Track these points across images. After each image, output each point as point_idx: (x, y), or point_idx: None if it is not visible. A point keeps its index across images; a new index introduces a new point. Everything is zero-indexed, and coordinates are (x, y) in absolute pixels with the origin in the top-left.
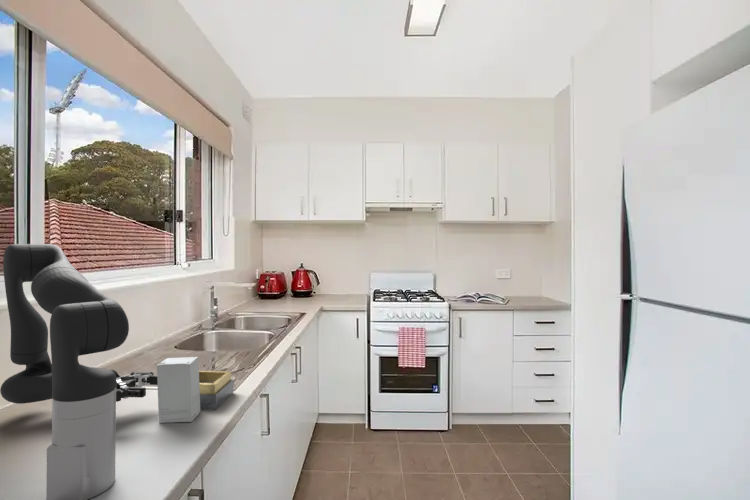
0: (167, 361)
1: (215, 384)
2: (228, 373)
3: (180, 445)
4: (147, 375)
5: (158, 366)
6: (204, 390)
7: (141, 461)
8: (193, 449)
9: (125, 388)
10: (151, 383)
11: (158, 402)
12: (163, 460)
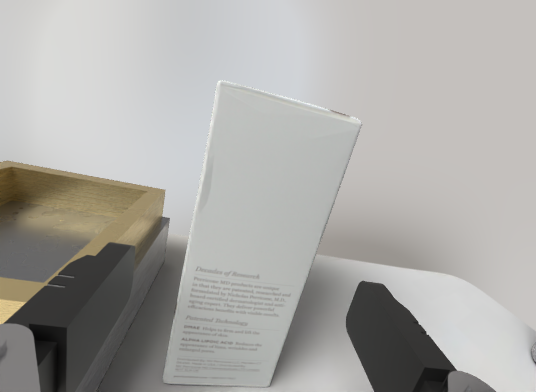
0: (301, 101)
1: (161, 189)
2: (32, 166)
3: None
4: (15, 362)
5: (356, 129)
6: (151, 223)
7: (456, 333)
8: (361, 270)
9: (489, 387)
10: (76, 380)
11: (294, 312)
12: (420, 299)
